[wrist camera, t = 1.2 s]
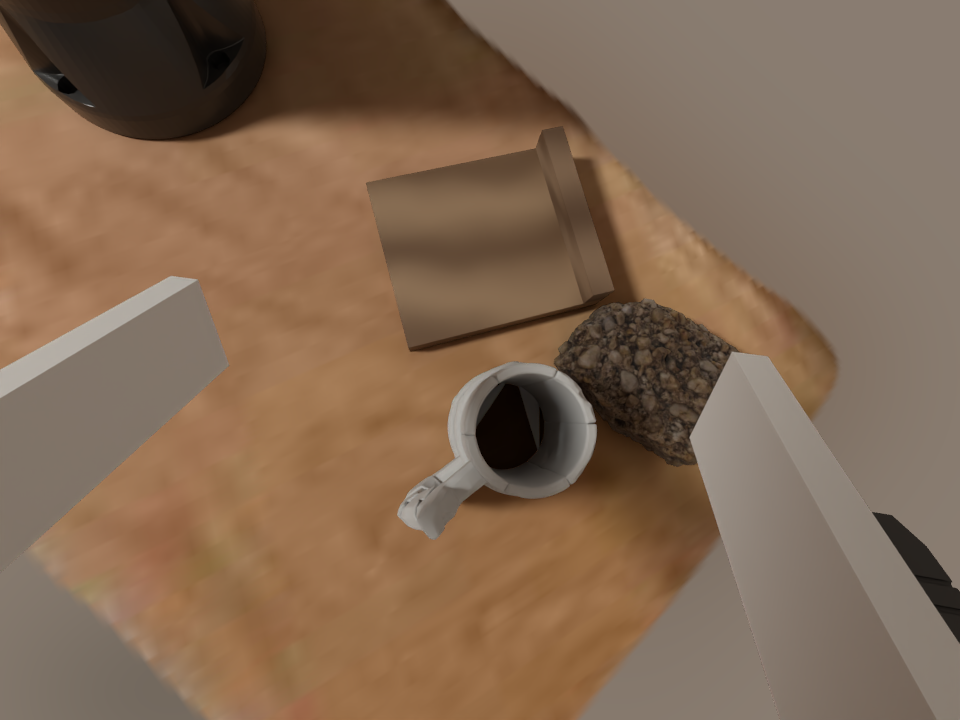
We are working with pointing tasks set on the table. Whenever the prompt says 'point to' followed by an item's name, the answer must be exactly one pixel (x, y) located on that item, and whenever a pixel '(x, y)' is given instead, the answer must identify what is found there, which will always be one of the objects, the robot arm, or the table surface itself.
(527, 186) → the rest board
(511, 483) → the mug
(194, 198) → the table surface
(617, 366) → the concrete sample
